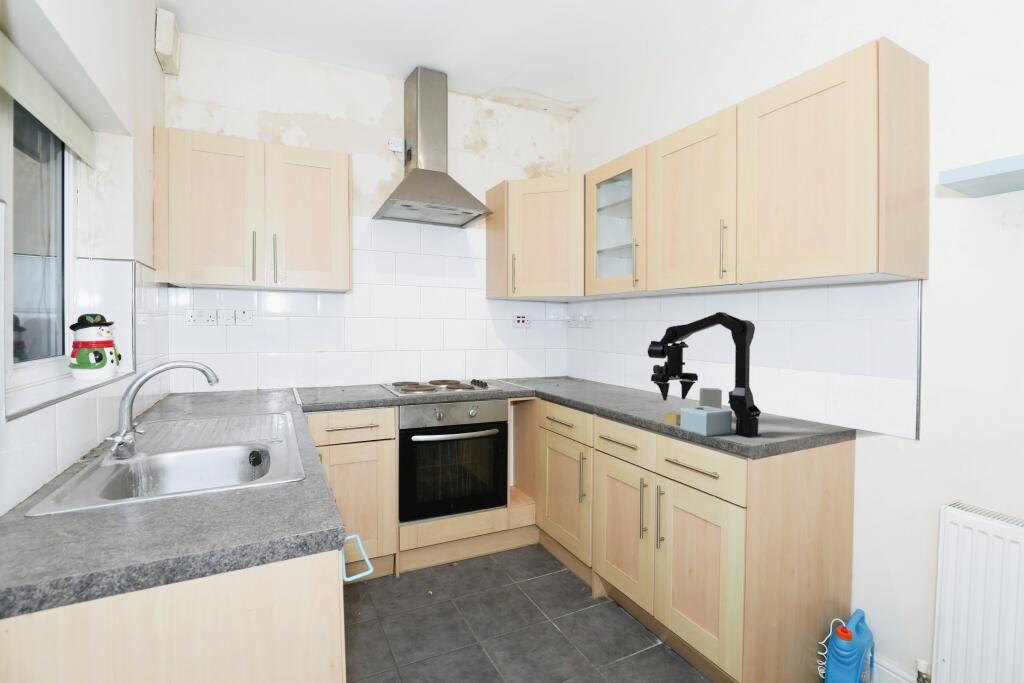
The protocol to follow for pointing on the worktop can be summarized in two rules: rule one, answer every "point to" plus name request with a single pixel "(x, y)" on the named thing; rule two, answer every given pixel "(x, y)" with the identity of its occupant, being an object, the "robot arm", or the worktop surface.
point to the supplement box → (710, 397)
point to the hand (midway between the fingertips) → (674, 399)
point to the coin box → (706, 420)
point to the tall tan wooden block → (673, 418)
